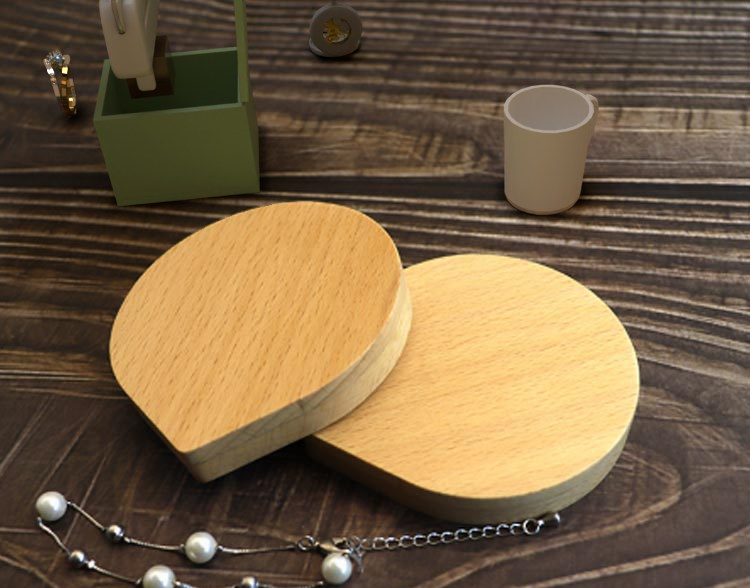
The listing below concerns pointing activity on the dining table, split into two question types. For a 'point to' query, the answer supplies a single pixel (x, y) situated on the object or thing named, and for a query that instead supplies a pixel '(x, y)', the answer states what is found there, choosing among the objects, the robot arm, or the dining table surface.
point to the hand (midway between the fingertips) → (150, 72)
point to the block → (157, 72)
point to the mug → (546, 147)
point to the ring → (67, 82)
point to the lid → (242, 47)
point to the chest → (180, 133)
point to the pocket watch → (335, 30)
